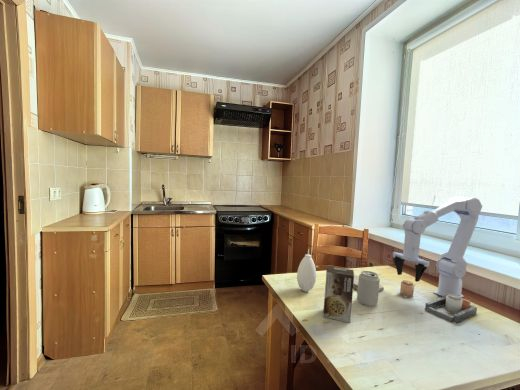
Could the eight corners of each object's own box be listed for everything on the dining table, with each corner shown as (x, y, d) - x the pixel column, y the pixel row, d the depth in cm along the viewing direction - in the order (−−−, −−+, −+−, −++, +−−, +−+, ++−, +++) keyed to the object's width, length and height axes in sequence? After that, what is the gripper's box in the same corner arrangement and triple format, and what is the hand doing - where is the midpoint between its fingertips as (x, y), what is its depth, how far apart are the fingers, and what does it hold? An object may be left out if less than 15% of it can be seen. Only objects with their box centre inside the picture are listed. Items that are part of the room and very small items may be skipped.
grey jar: (448, 306, 102) (450, 292, 101) (463, 312, 97) (465, 298, 97) (442, 308, 99) (444, 294, 99) (457, 315, 95) (459, 300, 95)
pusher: (448, 303, 104) (449, 292, 104) (470, 311, 98) (471, 300, 97) (445, 304, 103) (446, 293, 103) (467, 312, 97) (469, 301, 96)
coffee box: (350, 314, 90) (354, 269, 89) (350, 323, 84) (354, 275, 83) (323, 308, 93) (327, 265, 92) (322, 316, 87) (326, 270, 86)
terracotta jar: (404, 291, 114) (405, 279, 113) (415, 296, 109) (416, 283, 109) (397, 293, 111) (398, 280, 111) (409, 298, 107) (410, 285, 107)
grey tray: (445, 301, 106) (446, 295, 106) (476, 313, 97) (477, 307, 97) (424, 309, 97) (424, 303, 97) (455, 323, 88) (456, 316, 88)
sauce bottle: (317, 295, 104) (320, 251, 102) (298, 294, 103) (301, 250, 102) (311, 287, 111) (315, 246, 110) (294, 286, 111) (297, 245, 110)
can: (379, 309, 95) (382, 277, 95) (358, 305, 97) (361, 275, 96) (374, 300, 103) (377, 271, 102) (355, 297, 104) (357, 268, 103)
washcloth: (350, 277, 128) (350, 271, 128) (384, 291, 113) (385, 284, 113) (335, 281, 121) (335, 275, 121) (370, 297, 106) (370, 289, 106)
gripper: (390, 243, 113) (386, 272, 114) (424, 252, 101) (420, 285, 102) (399, 242, 117) (396, 271, 118) (433, 250, 104) (429, 283, 105)
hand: (408, 277), depth 110 cm, fingers open, 7 cm apart
